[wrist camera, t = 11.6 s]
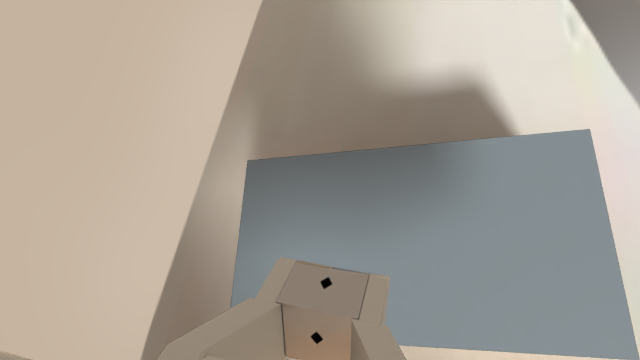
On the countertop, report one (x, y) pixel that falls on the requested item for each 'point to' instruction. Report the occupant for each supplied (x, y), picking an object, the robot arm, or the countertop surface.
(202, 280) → the countertop surface
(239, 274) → the lid
